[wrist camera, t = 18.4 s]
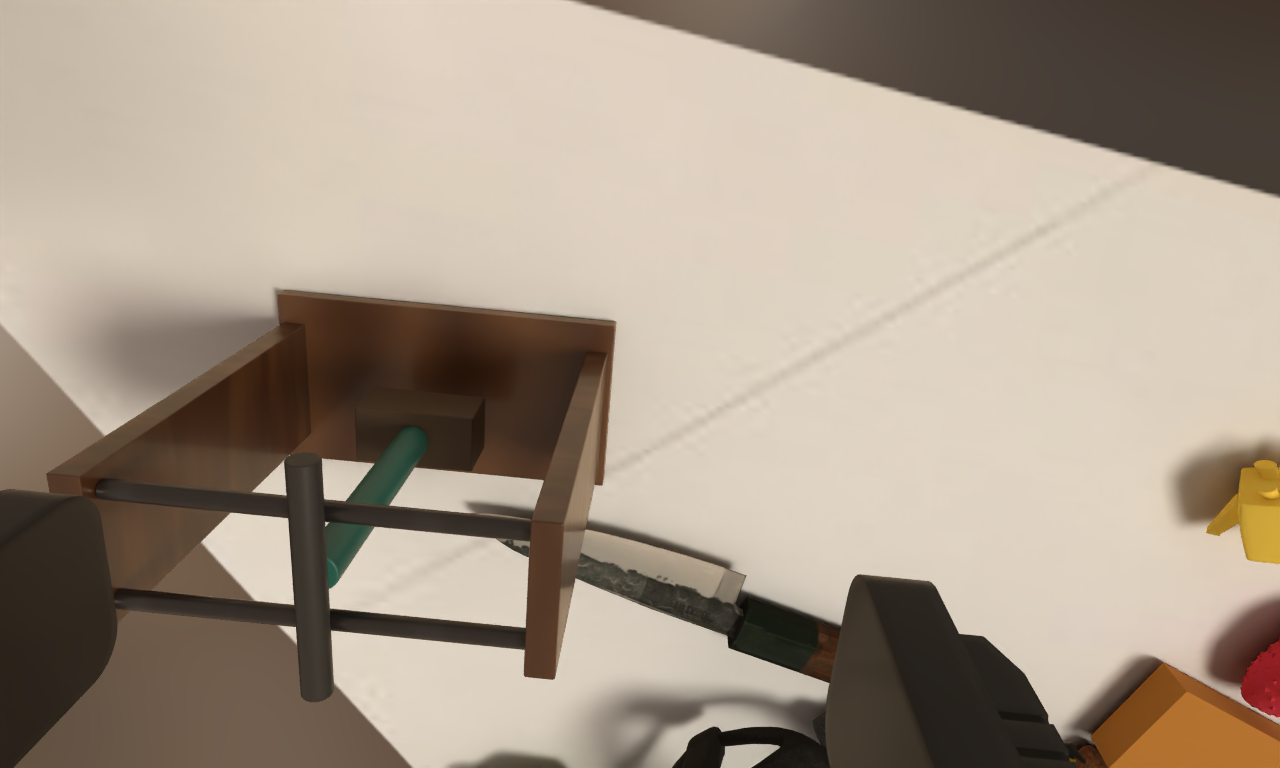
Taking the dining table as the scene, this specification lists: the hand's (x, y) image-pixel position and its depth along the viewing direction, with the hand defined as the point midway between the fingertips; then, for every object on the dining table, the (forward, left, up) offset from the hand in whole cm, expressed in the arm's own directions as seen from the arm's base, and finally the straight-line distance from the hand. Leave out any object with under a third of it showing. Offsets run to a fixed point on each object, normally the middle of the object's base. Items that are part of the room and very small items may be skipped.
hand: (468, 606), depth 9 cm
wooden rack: (+13, -10, -38) cm, 41 cm away
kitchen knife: (+26, +9, -38) cm, 47 cm away
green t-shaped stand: (+13, -10, -34) cm, 37 cm away
